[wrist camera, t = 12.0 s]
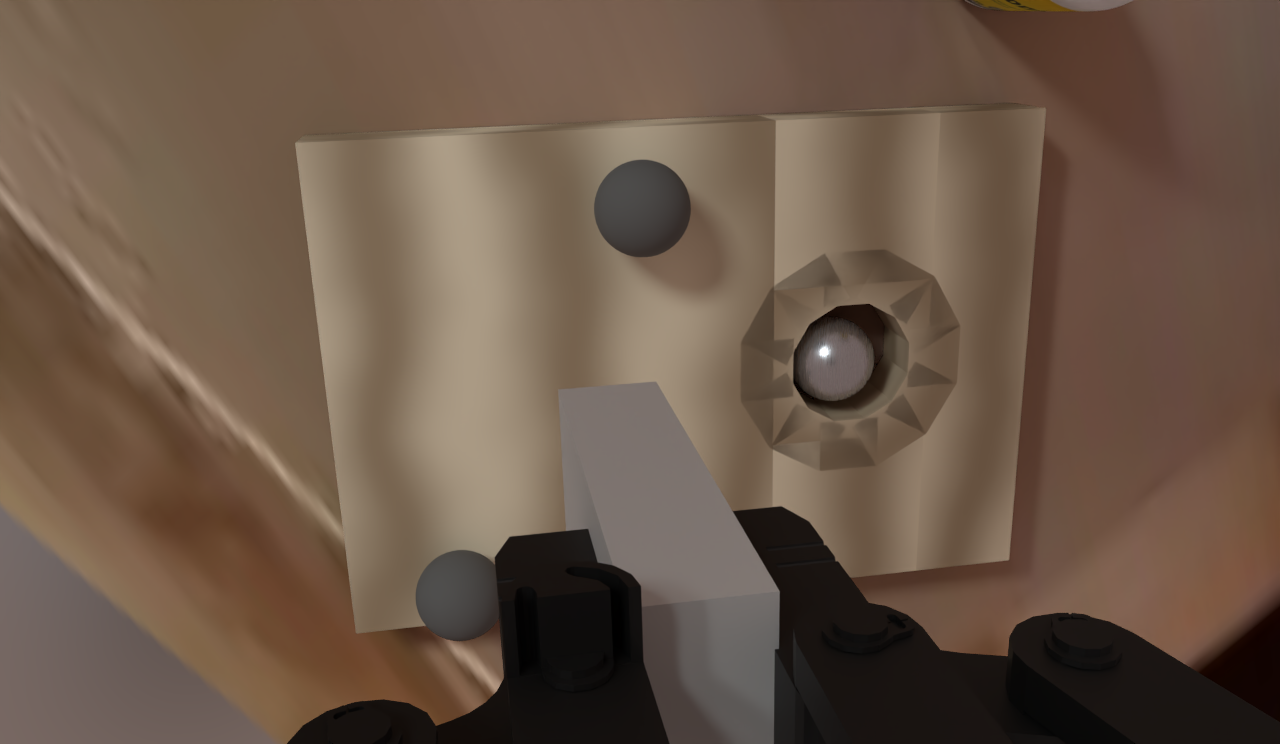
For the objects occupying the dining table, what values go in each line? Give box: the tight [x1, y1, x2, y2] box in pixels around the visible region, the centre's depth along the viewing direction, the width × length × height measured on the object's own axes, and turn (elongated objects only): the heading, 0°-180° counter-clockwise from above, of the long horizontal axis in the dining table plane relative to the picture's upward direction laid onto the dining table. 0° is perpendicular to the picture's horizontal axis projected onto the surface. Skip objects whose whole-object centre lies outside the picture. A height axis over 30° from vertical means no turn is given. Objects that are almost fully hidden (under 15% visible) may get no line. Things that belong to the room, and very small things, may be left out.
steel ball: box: [793, 317, 874, 401], centre depth 42 cm, size 3×3×3 cm
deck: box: [295, 103, 1046, 633], centre depth 41 cm, size 26×18×2 cm
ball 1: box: [415, 550, 499, 641], centre depth 40 cm, size 3×3×3 cm
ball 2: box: [594, 160, 691, 257], centre depth 36 cm, size 3×3×3 cm
